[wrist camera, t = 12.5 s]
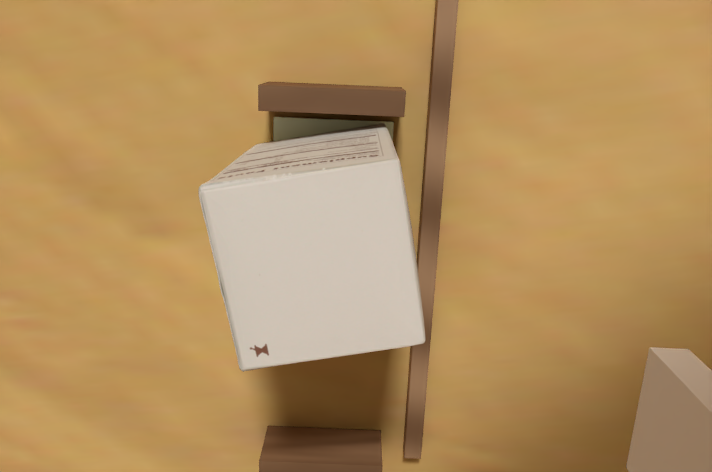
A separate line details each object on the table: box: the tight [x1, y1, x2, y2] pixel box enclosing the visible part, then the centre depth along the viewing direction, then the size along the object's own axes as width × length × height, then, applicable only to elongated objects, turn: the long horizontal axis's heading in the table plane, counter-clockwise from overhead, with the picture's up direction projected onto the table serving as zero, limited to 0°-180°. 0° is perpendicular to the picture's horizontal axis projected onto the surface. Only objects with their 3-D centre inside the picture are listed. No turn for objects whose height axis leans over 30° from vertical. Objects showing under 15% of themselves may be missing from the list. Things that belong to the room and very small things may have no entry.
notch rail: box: [258, 0, 458, 472], centre depth 33 cm, size 32×10×4 cm, turn 178°
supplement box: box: [199, 123, 425, 371], centre depth 28 cm, size 7×7×13 cm
